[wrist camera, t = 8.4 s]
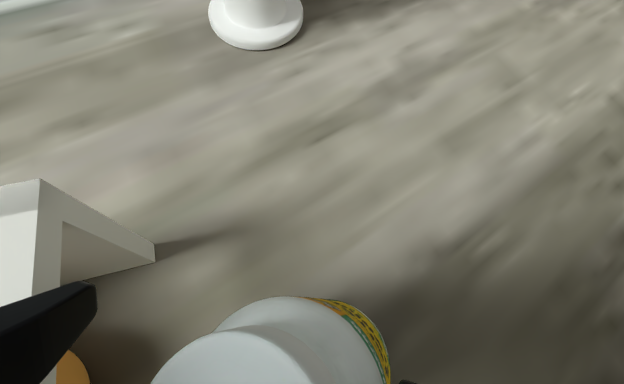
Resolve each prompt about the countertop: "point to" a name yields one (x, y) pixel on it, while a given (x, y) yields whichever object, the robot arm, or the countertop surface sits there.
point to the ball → (71, 370)
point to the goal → (58, 243)
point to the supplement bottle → (285, 347)
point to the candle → (256, 22)
